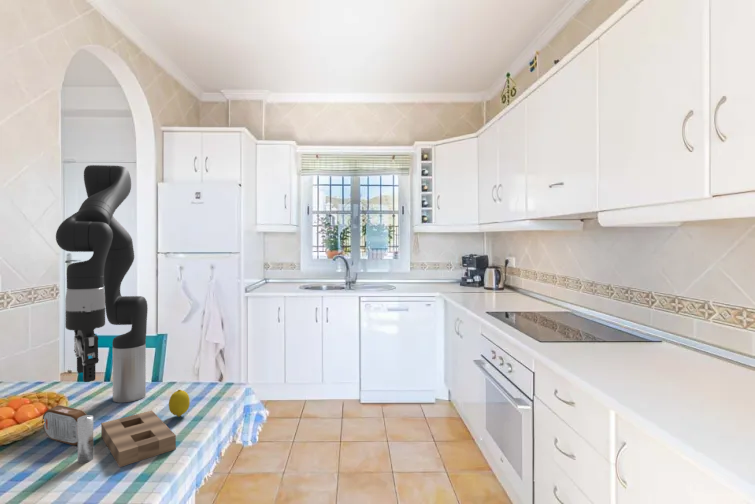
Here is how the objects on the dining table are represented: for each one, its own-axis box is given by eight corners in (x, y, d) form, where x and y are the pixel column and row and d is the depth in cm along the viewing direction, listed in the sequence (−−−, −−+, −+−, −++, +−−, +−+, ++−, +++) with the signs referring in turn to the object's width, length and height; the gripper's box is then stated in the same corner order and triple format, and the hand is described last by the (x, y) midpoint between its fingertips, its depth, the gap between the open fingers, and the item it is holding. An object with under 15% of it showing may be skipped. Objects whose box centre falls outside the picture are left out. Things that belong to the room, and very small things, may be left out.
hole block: (101, 436, 106) (101, 423, 106) (151, 422, 115) (151, 410, 115) (119, 467, 92) (119, 452, 92) (175, 449, 100) (175, 435, 100)
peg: (76, 459, 95) (76, 417, 95) (92, 455, 97) (91, 413, 97) (78, 464, 93) (78, 421, 93) (94, 460, 95) (94, 417, 95)
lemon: (181, 421, 116) (181, 393, 115) (164, 419, 117) (164, 392, 116) (193, 413, 121) (193, 387, 121) (177, 411, 122) (177, 385, 122)
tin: (93, 443, 103) (93, 410, 103) (80, 449, 100) (80, 415, 100) (53, 433, 108) (52, 402, 107) (39, 439, 105) (39, 406, 104)
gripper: (61, 305, 97) (61, 372, 97) (70, 313, 86) (70, 388, 87) (98, 302, 102) (98, 366, 102) (111, 309, 92) (111, 380, 92)
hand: (85, 376), depth 95 cm, fingers open, 8 cm apart
